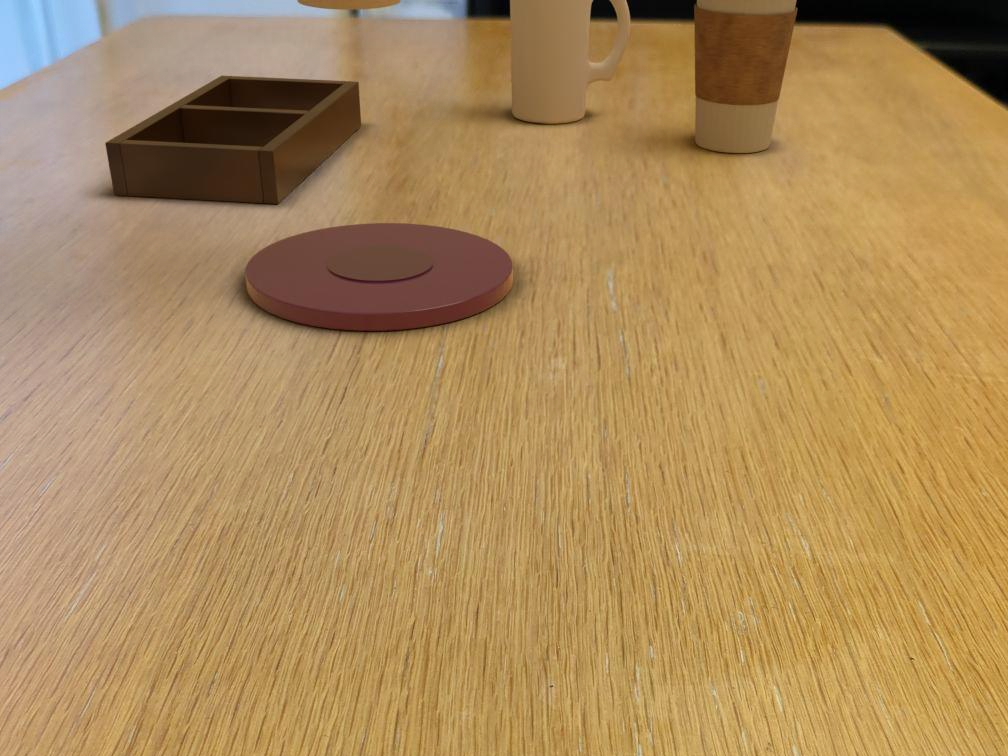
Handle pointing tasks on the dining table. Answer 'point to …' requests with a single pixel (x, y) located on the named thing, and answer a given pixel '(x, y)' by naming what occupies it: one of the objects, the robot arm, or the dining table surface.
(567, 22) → the mug
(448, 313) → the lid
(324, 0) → the candle
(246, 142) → the divided wooden tray
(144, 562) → the dining table surface
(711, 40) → the coffee cup
